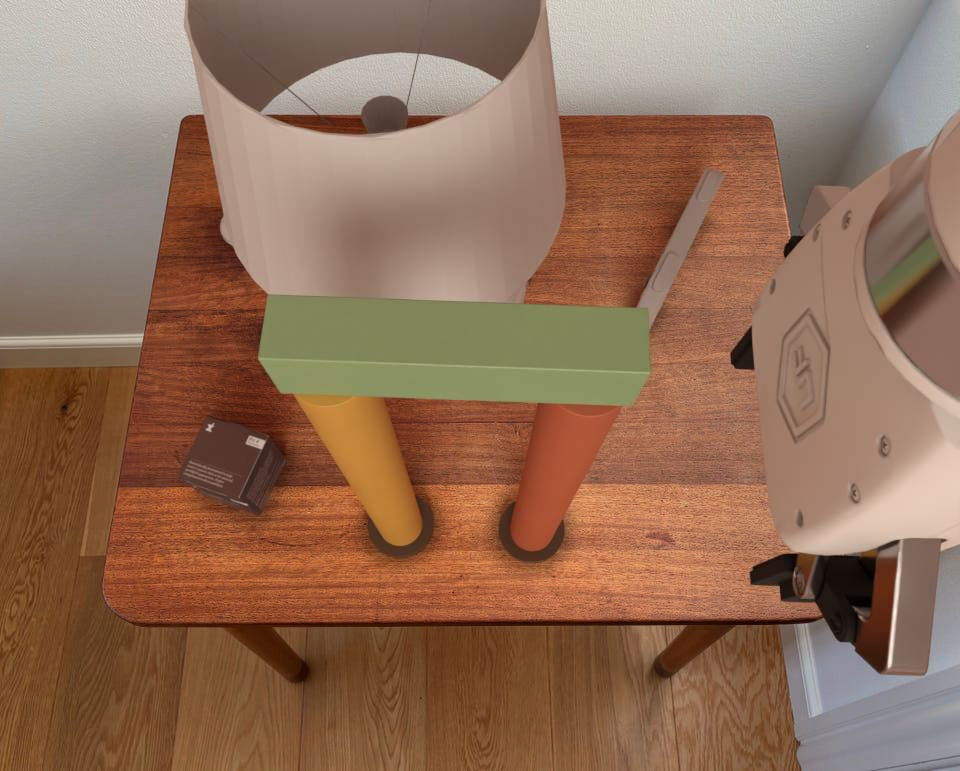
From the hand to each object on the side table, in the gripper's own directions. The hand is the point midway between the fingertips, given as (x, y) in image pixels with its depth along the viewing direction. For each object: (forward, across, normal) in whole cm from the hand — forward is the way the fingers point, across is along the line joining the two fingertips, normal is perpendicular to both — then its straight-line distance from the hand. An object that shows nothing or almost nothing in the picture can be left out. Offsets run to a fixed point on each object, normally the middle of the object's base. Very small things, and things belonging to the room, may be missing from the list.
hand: (774, 465), depth 33 cm
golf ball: (+38, -34, -39) cm, 64 cm away
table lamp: (+38, -25, -20) cm, 50 cm away
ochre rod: (+38, -4, -20) cm, 43 cm away
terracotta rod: (+38, -4, -8) cm, 39 cm away
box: (+38, -8, -35) cm, 53 cm away
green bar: (0, -4, -14) cm, 15 cm away
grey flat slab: (+38, -32, +6) cm, 50 cm away
